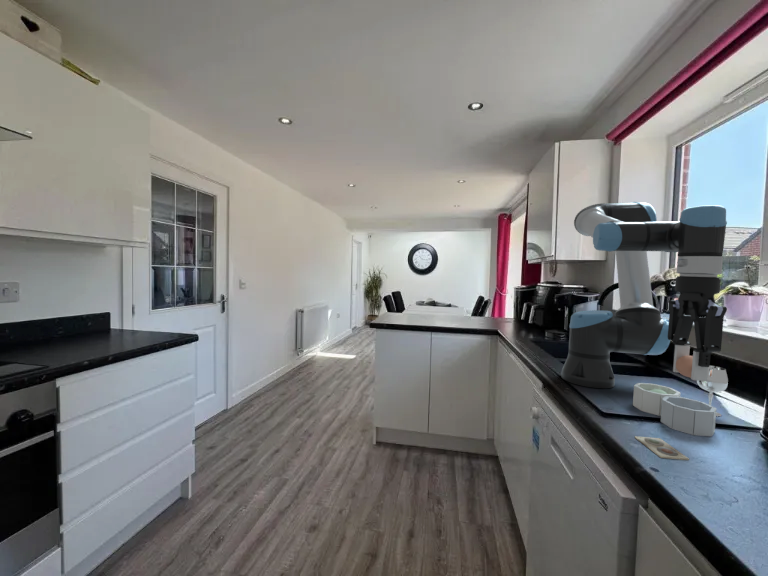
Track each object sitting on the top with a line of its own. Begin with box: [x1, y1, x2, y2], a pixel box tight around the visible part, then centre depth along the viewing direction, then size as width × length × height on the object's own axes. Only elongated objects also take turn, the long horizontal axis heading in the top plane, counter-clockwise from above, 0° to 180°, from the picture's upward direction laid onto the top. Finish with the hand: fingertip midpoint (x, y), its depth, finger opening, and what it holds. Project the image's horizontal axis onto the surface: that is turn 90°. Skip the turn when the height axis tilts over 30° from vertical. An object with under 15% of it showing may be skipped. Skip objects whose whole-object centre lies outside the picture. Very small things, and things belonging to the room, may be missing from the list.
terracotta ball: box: [676, 355, 693, 379], centre depth 78 cm, size 5×5×5 cm
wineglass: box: [696, 365, 729, 418], centre depth 87 cm, size 6×6×12 cm
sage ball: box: [650, 389, 667, 394], centre depth 88 cm, size 5×5×5 cm
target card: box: [634, 435, 690, 461], centre depth 69 cm, size 8×5×1 cm, turn 174°
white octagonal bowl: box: [632, 382, 681, 417], centre depth 89 cm, size 9×9×6 cm
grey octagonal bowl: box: [660, 396, 717, 437], centre depth 79 cm, size 9×9×6 cm
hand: (689, 375), depth 78 cm, fingers closed on terracotta ball, 5 cm apart
